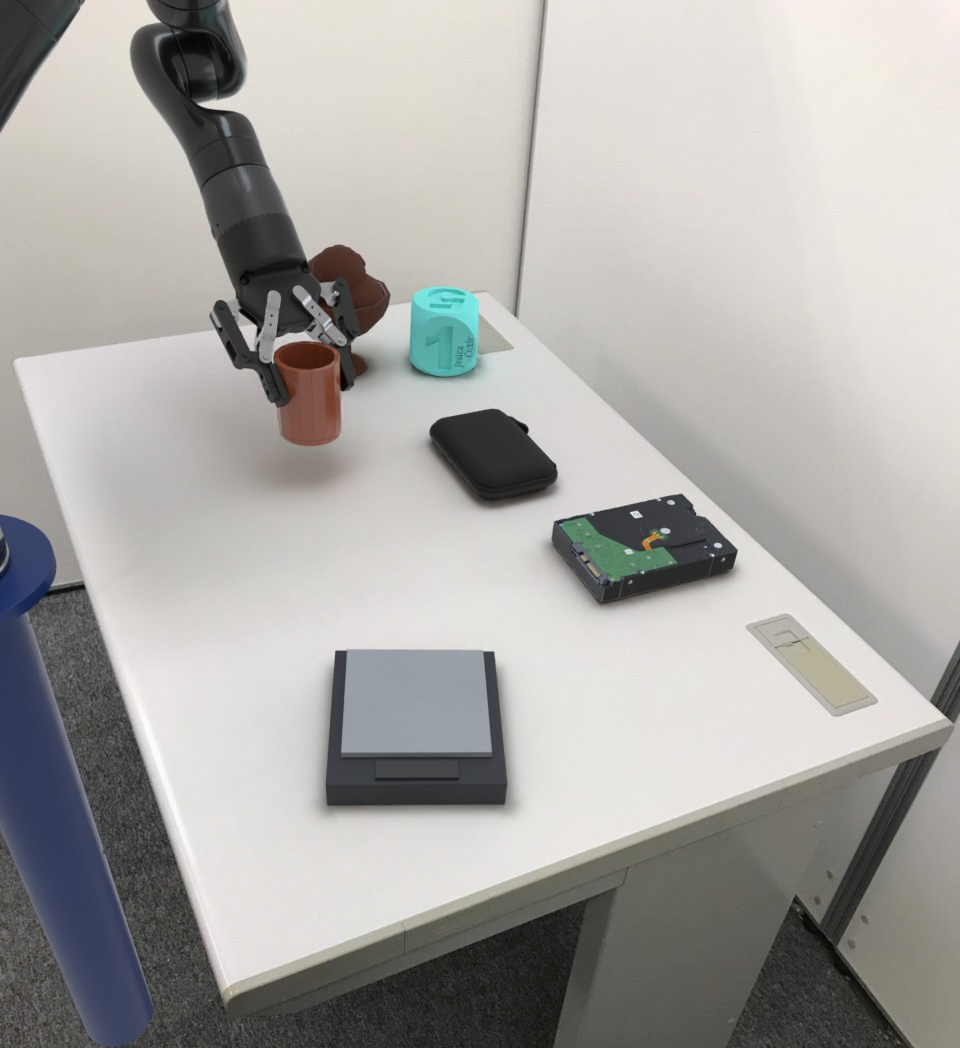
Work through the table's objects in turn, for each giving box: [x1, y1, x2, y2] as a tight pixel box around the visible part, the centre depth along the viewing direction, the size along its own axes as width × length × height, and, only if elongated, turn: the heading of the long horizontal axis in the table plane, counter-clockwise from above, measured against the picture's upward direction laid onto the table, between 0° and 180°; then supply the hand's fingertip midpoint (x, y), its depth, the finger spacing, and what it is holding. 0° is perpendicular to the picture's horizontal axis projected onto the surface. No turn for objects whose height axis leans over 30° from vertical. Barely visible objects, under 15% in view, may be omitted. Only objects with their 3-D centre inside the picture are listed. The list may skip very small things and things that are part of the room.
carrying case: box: [428, 408, 559, 501], centre depth 107 cm, size 11×3×15 cm
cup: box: [272, 340, 343, 447], centre depth 98 cm, size 6×6×8 cm
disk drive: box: [551, 493, 739, 603], centre depth 96 cm, size 10×3×15 cm
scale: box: [325, 648, 508, 807], centre depth 77 cm, size 13×14×3 cm
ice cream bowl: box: [307, 244, 391, 377], centre depth 117 cm, size 11×11×15 cm
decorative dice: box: [409, 285, 480, 378], centre depth 122 cm, size 8×8×8 cm
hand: (316, 396), depth 96 cm, fingers closed on cup, 6 cm apart
